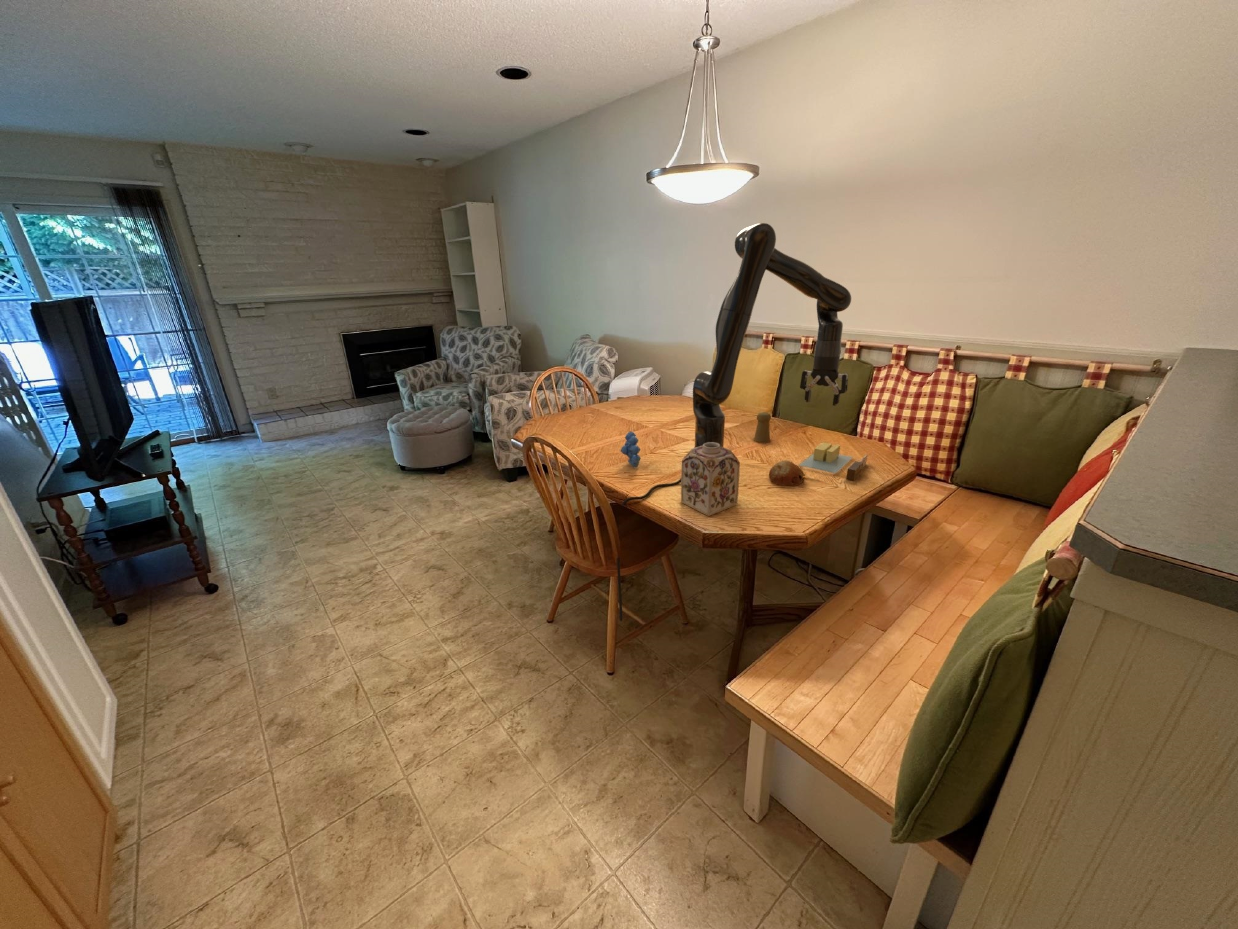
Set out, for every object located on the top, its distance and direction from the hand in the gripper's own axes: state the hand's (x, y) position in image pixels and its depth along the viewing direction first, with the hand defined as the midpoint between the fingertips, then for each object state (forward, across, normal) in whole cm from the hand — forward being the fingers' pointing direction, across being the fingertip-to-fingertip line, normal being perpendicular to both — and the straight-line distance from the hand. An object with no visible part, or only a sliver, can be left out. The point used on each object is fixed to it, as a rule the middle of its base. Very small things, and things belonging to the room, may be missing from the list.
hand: (821, 403), depth 158 cm
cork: (+20, -23, +10) cm, 33 cm away
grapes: (+20, -50, -40) cm, 67 cm away
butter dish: (+20, +4, -1) cm, 21 cm away
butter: (+19, +2, +2) cm, 19 cm away
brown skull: (+20, -1, -22) cm, 30 cm away
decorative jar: (+20, -13, -51) cm, 56 cm away
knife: (+20, +15, -5) cm, 26 cm away
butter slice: (+19, +5, +2) cm, 20 cm away
